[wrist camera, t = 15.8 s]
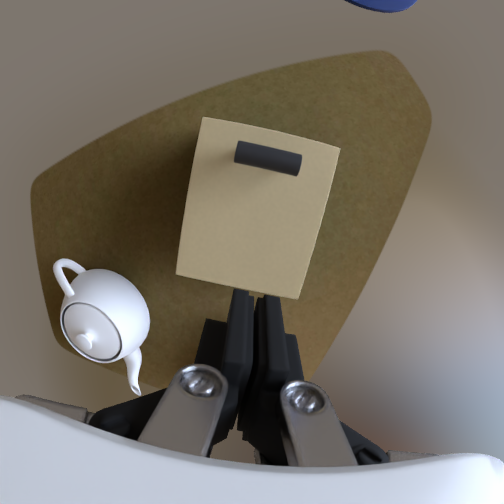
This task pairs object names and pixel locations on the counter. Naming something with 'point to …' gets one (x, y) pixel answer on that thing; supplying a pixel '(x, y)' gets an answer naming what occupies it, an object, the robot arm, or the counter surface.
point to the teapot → (103, 316)
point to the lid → (254, 207)
